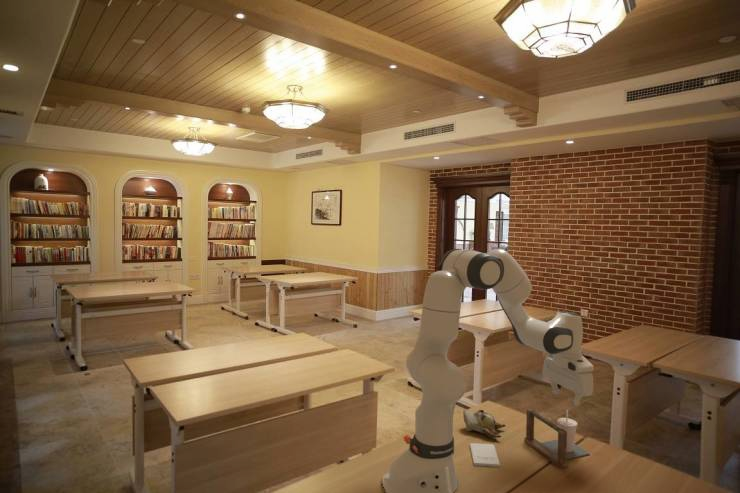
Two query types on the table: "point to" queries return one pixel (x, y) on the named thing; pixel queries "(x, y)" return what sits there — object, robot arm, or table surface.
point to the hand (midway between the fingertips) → (565, 399)
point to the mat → (575, 452)
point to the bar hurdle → (562, 444)
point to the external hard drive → (484, 455)
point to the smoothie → (568, 430)
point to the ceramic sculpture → (482, 423)
